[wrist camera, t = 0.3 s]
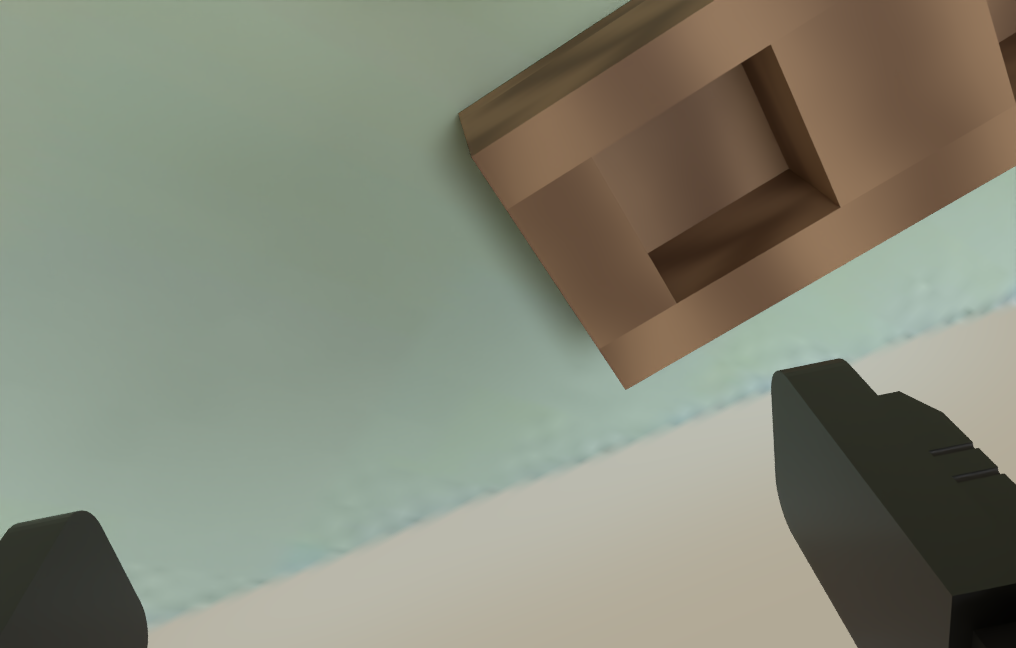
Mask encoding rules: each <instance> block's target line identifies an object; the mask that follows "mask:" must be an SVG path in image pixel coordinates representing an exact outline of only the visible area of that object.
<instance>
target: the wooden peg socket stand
mask: <svg viewBox="0 0 1016 648" xmlns="http://www.w3.org/2000/svg"><path fill="white" fill-rule="evenodd" d="M458 114H459V118H460V121H461V124H462V128H463V131H464V135H465V138H466V141H467V145H468V148H469V151H470V155H471V157H472V159H473V160H474V162H475V163H476V165H477V166H478V168H479V170H480V171H481V173H482V174H483V176H484V177H485V179H486V180H487V182H488V183H489V185H490V186H491V188H492V189H493V191H494V192H495V194H496V195H497V197H498V198H499V200H500V201H501V203H502V204H503V206H504V207H505V209H506V210H507V212H508V213H509V215H510V216H511V218H512V219H513V221H514V222H515V224H516V225H517V227H518V228H519V230H520V231H521V233H522V234H523V236H524V237H525V239H526V240H527V242H528V243H529V245H530V246H531V248H532V249H533V251H534V252H535V254H536V255H537V257H538V258H539V260H540V261H541V263H542V265H543V266H544V268H545V269H546V271H547V272H548V274H549V275H550V277H551V278H552V280H553V281H554V283H555V284H556V286H557V287H558V289H559V290H560V292H561V293H562V295H563V296H564V298H565V299H566V301H567V302H568V304H569V305H570V307H571V308H572V310H573V311H574V313H575V314H576V316H577V317H578V319H579V320H580V322H581V323H582V325H583V326H584V328H585V329H586V331H587V332H588V334H589V335H590V337H591V338H592V340H593V341H594V343H595V344H596V346H597V347H598V349H599V350H600V352H601V353H602V355H603V356H604V358H605V360H606V361H607V363H608V364H609V366H610V367H611V369H612V370H613V372H614V373H615V375H616V376H617V378H618V379H619V381H620V382H621V384H622V385H623V387H624V388H625V390H626V389H628V388H630V387H632V386H633V385H635V384H637V383H639V382H640V381H642V380H644V379H646V378H647V377H649V376H651V375H653V374H654V373H656V372H658V371H659V370H661V369H663V368H665V367H666V366H668V365H670V364H672V363H673V362H675V361H677V360H679V359H680V358H682V357H684V356H686V355H687V354H689V353H691V352H693V351H694V350H696V349H698V348H699V347H701V346H703V345H705V344H706V343H708V342H710V341H712V340H713V339H715V338H717V337H719V336H720V335H722V334H724V333H726V332H727V331H729V330H731V329H733V328H734V327H736V326H738V325H740V324H741V323H743V322H745V321H746V320H748V319H750V318H752V317H753V316H755V315H757V314H759V313H760V312H762V311H764V310H766V309H767V308H769V307H771V306H773V305H774V304H776V303H778V302H780V301H781V300H783V299H785V298H786V297H788V296H790V295H792V294H793V293H795V292H797V291H799V290H800V289H802V288H804V287H806V286H807V285H809V284H811V283H813V282H814V281H816V280H818V279H820V278H821V277H823V276H825V275H827V274H828V273H830V272H832V271H833V270H835V269H837V268H839V267H840V266H842V265H844V264H846V263H847V262H849V261H851V260H853V259H854V258H856V257H858V256H860V255H861V254H863V253H865V252H867V251H868V250H870V249H872V248H873V247H875V246H877V245H879V244H880V243H882V242H884V241H886V240H887V239H889V238H891V237H893V236H894V235H896V234H898V233H900V232H901V231H903V230H905V229H907V228H908V227H910V226H912V225H914V224H915V223H917V222H919V221H920V220H922V219H924V218H926V217H927V216H929V215H931V214H933V213H934V212H936V211H938V210H940V209H941V208H943V207H945V206H947V205H948V204H950V203H952V202H954V201H955V200H957V199H959V198H960V197H962V196H964V195H966V194H967V193H969V192H971V191H973V190H974V189H976V188H978V187H980V186H981V185H983V184H985V183H987V182H988V181H990V180H992V179H994V178H995V177H997V176H999V175H1001V174H1002V173H1004V172H1006V171H1007V170H1009V169H1011V168H1013V167H1014V166H1016V0H631V1H629V2H628V3H626V4H625V5H623V6H622V7H620V8H619V9H617V10H616V11H614V12H612V13H611V14H609V15H608V16H606V17H605V18H603V19H602V20H600V21H599V22H597V23H596V24H594V25H593V26H591V27H590V28H588V29H586V30H585V31H583V32H582V33H580V34H579V35H577V36H576V37H574V38H573V39H571V40H570V41H568V42H567V43H565V44H564V45H562V46H561V47H559V48H557V49H556V50H554V51H553V52H551V53H550V54H548V55H547V56H545V57H544V58H542V59H541V60H539V61H538V62H536V63H535V64H533V65H531V66H530V67H528V68H527V69H525V70H524V71H522V72H521V73H519V74H518V75H516V76H515V77H513V78H512V79H510V80H509V81H507V82H506V83H504V84H502V85H501V86H499V87H498V88H496V89H495V90H493V91H492V92H490V93H489V94H487V95H486V96H484V97H483V98H481V99H480V100H478V101H477V102H475V103H473V104H472V105H470V106H469V107H467V108H466V109H464V110H463V111H461V112H460V113H458Z"/></svg>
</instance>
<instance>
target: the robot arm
mask: <svg viewBox="0 0 1016 648" xmlns="http://www.w3.org/2000/svg"><path fill="white" fill-rule="evenodd" d="M771 395H772V415H773V433H774V453H775V454H774V455H775V473H776V485H777V491H778V496H779V500H780V504H781V507H782V511H783V514H784V517H785V519H786V522H787V524H788V526H789V529H790V531H791V533H792V534H793V536H794V538H795V540H796V541H797V543H798V545H799V547H800V548H801V550H802V552H803V554H804V555H805V557H806V559H807V561H808V562H809V564H810V566H811V567H812V569H813V571H814V573H815V574H816V576H817V578H818V580H819V581H820V583H821V585H822V586H823V588H824V590H825V592H826V593H827V595H828V597H829V599H830V600H831V602H832V604H833V606H834V607H835V609H836V611H837V612H838V614H839V616H840V618H841V619H842V621H843V623H844V624H845V626H846V628H847V629H848V631H849V633H850V635H851V637H852V638H853V640H854V642H855V644H856V645H857V647H858V648H1016V484H1015V483H1014V482H1012V481H1011V480H1010V479H1009V478H1008V477H1007V476H1006V475H1005V474H1000V473H999V471H998V467H997V466H996V465H995V464H994V463H993V462H992V461H991V460H990V459H989V458H988V457H987V456H986V455H985V454H984V453H983V452H982V451H981V450H980V449H979V448H976V449H975V448H974V447H973V442H972V441H971V440H970V439H969V438H968V437H967V436H966V435H965V434H964V433H963V432H962V431H961V430H960V429H959V428H958V427H957V426H956V425H955V424H954V423H953V422H952V421H951V420H950V419H949V418H948V417H947V416H946V415H945V414H944V413H942V412H941V411H938V410H936V409H934V408H932V407H930V406H928V405H926V404H924V403H922V402H920V401H918V400H916V399H914V398H912V397H910V396H908V395H906V394H904V393H902V392H900V391H898V392H893V393H888V394H883V395H877V394H876V393H875V392H874V391H873V390H872V389H871V388H870V386H869V385H868V384H867V383H866V382H865V381H864V380H863V379H862V378H861V377H860V376H859V374H858V373H857V372H856V371H855V370H854V369H853V368H852V367H851V366H850V365H849V364H848V363H847V362H846V361H845V360H843V359H834V360H829V361H824V362H819V363H814V364H809V365H804V366H799V367H794V368H789V369H784V370H780V371H776V372H775V373H774V374H773V377H772V383H771ZM147 645H148V629H147V621H146V616H145V613H144V609H143V607H142V604H141V602H140V600H139V598H138V596H137V594H136V593H135V591H134V589H133V587H132V585H131V583H130V581H129V579H128V577H127V575H126V573H125V571H124V569H123V567H122V565H121V563H120V562H119V560H118V558H117V556H116V554H115V552H114V550H113V548H112V546H111V544H110V542H109V540H108V538H107V536H106V534H105V532H104V531H103V529H102V527H101V525H100V523H99V522H98V520H97V519H96V518H95V517H94V516H93V515H92V514H91V513H89V512H87V511H76V512H71V513H66V514H61V515H56V516H51V517H46V518H42V519H37V520H32V521H27V522H22V523H17V524H15V525H13V526H12V527H11V528H9V529H8V531H7V532H6V533H5V534H4V536H3V537H2V539H1V540H0V648H147Z"/></svg>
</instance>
